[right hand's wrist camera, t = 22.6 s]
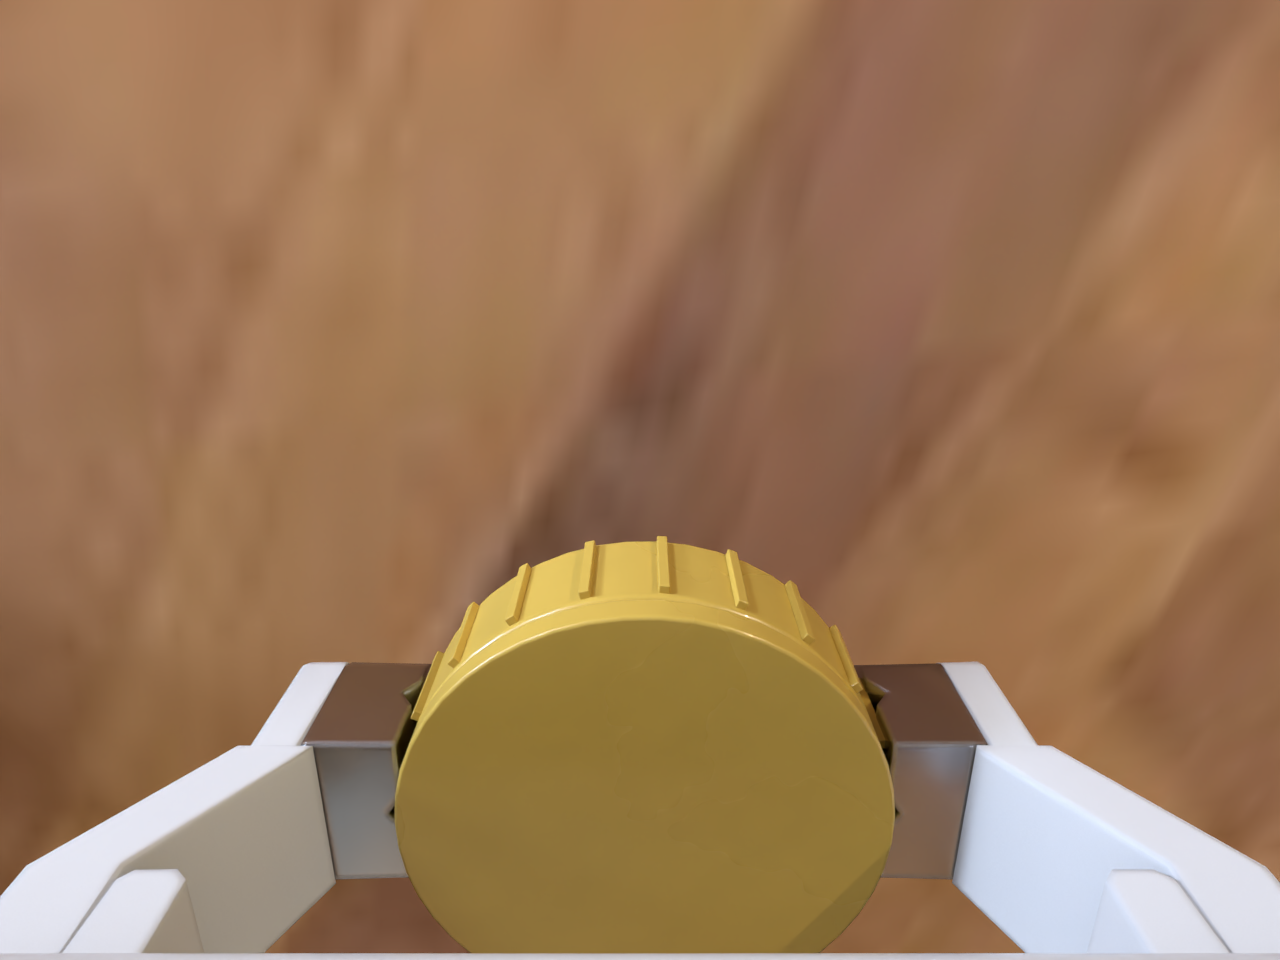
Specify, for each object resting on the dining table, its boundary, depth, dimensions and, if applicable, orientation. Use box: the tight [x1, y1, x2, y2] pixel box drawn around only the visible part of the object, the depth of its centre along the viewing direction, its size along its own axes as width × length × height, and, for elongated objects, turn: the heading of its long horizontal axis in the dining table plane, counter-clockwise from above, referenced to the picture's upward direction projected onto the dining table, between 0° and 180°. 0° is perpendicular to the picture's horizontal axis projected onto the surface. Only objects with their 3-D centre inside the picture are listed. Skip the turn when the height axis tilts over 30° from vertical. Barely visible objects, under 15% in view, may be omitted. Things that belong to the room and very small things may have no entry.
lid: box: [394, 536, 895, 953], centre depth 10 cm, size 5×5×2 cm
